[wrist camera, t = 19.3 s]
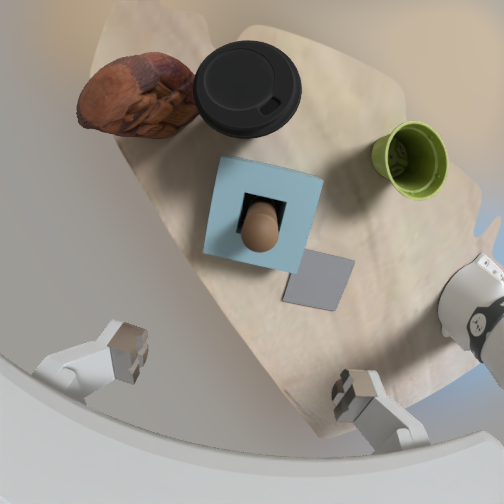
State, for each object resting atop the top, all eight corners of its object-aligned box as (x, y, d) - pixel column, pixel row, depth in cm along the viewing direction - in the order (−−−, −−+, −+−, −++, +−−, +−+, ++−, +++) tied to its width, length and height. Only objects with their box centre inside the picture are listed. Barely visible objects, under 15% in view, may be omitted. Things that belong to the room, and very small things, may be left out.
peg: (278, 199, 37) (282, 221, 25) (271, 223, 38) (273, 256, 27) (252, 193, 36) (245, 212, 25) (246, 217, 38) (237, 248, 27)
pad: (354, 260, 39) (355, 261, 39) (334, 309, 43) (335, 311, 42) (298, 247, 39) (299, 248, 39) (282, 299, 42) (282, 300, 42)
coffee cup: (275, 152, 34) (281, 153, 20) (209, 130, 34) (171, 120, 20) (299, 90, 31) (319, 54, 17) (232, 69, 30) (210, 24, 16)
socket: (315, 175, 35) (323, 180, 30) (292, 255, 39) (296, 274, 34) (228, 155, 35) (220, 156, 29) (211, 237, 39) (202, 253, 34)
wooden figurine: (153, 153, 35) (74, 164, 18) (131, 121, 33) (47, 115, 17) (220, 102, 32) (179, 64, 15) (195, 70, 30) (140, 19, 14)
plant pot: (396, 114, 31) (427, 108, 23) (425, 169, 33) (458, 177, 25) (347, 143, 33) (370, 143, 25) (380, 200, 36) (407, 215, 28)
